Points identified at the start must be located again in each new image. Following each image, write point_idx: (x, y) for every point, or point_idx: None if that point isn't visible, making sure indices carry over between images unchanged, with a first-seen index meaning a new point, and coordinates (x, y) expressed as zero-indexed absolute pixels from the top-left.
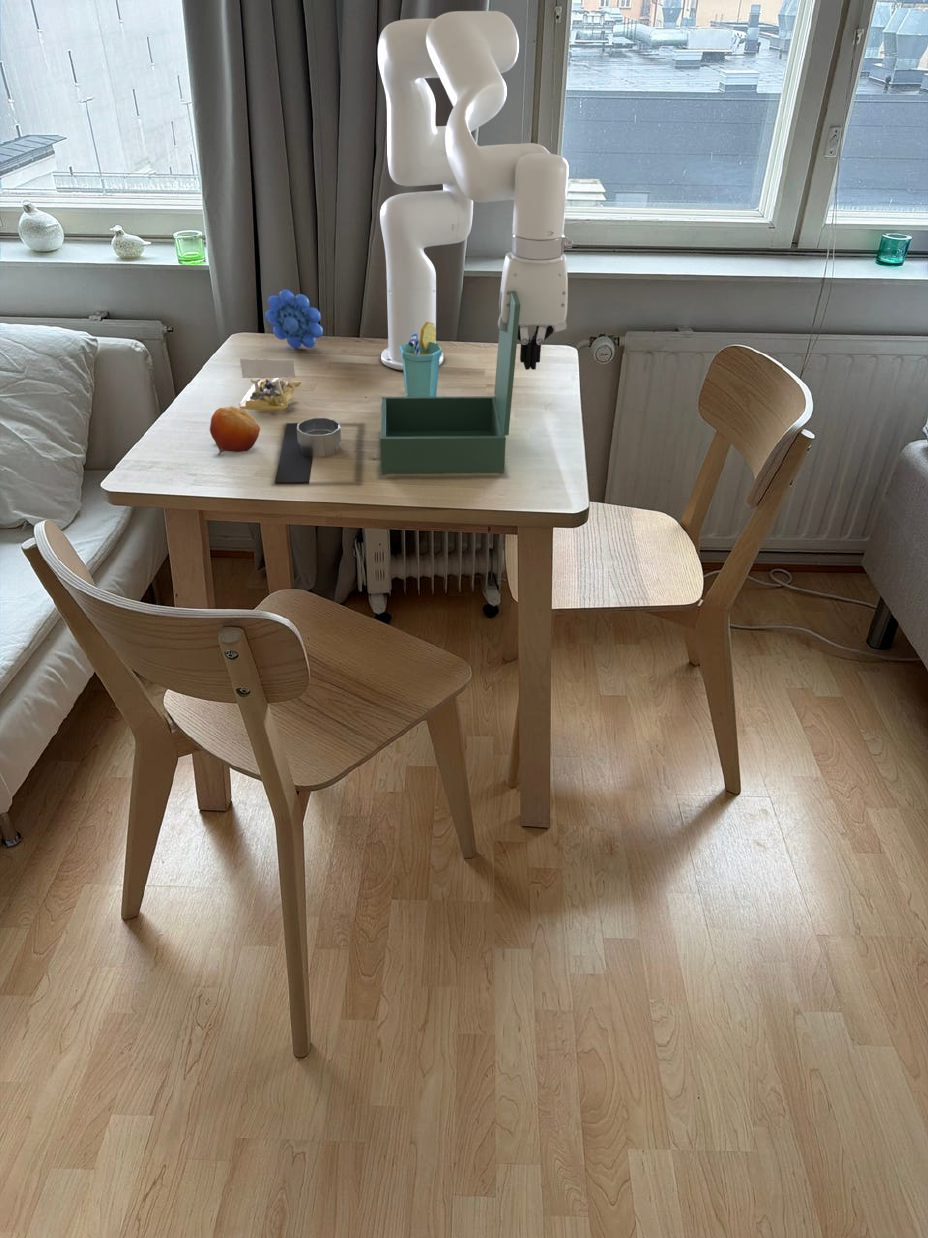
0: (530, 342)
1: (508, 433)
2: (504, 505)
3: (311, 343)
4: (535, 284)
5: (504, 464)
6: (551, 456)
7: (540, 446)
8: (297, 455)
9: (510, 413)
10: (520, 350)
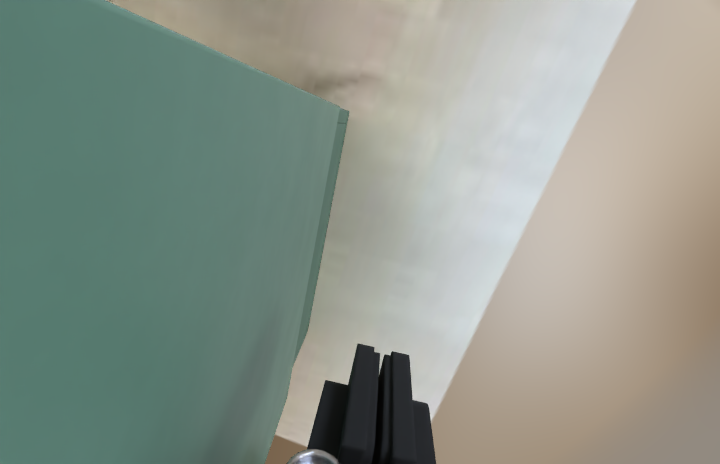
0: (378, 453)
1: (285, 401)
2: (280, 423)
3: None
4: None
5: (300, 347)
6: (442, 270)
7: (438, 215)
8: None
9: (269, 448)
10: (317, 411)
